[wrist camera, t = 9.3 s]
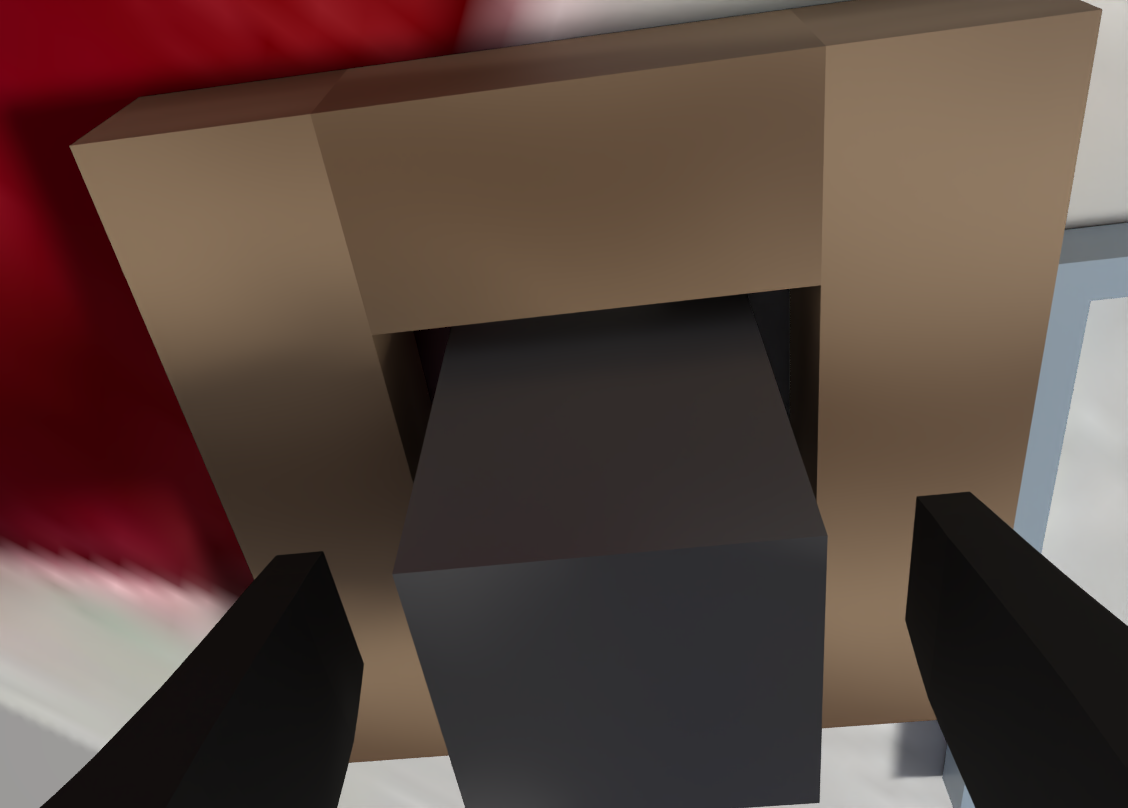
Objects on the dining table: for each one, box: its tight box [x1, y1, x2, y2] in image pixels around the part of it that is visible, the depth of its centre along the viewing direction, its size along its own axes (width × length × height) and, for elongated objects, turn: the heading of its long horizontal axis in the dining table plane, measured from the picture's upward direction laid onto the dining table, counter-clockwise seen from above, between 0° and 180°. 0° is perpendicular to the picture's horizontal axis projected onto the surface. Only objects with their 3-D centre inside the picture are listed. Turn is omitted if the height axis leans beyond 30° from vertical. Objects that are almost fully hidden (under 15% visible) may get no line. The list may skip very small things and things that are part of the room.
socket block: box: [70, 0, 1102, 763], centre depth 14 cm, size 11×11×2 cm
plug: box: [392, 293, 828, 808], centre depth 12 cm, size 4×4×6 cm
